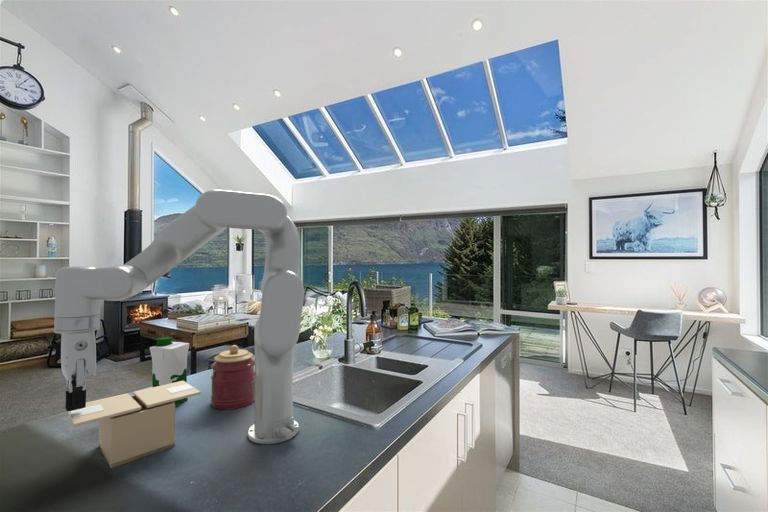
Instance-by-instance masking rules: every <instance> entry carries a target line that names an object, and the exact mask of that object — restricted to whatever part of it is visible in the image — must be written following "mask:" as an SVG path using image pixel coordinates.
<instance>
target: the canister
mask: <svg viewBox="0 0 768 512" xmlns="http://www.w3.org/2000/svg"><path fill="white" fill-rule="evenodd" d="M253 357H254V354H253V353H252V352H250V351H249V350H247V349H242V348H241V349H240V348H239V345H236V344H233V345H231V346H230V347H229V350H224V351H221V352H219V354H218V355H216V356H214V358H213V360H214V362H213V363H212V364H211V365H210V368H211V370H212V374H211V377H210V379H211V393H210V394H211V396H210V402H211V407H213V408H214V409H219V410H233V409H234V410H235V409H239V408H243V407H244V408H245V406H248V405H251V404H252V403H253V402H255V358H253Z"/></svg>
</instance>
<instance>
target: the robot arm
mask: <svg viewBox="0 0 768 512" xmlns="http://www.w3.org/2000/svg"><path fill="white" fill-rule="evenodd" d="M226 229H240V230H253V231H257V232H260V233H262V235H263V236H264V238H265V241H266V247H265V248H266V250H265V261H264V262H265V263H264V270H263V274H262V275H263V276H262V281H261V283H260V292H261V294H262V295H261V302H260V304H261V305H260V309H259V310H260V312H259V316H258V318H257V319H256V321H255V325H254V330H253V332H254V334H253V336H254V338H253V339H254V360H255V365H254V370H255V400H254V413H253V415H254V420H253V421H254V423H253V424H252V425H251V426H250V427H249V428H248V430H247V438H248V439H249V440H250V441H251V442H253V443H256V444H261V445H272V444H273V445H274V444H279V443H282V442H286V441H288V440H291V439H292V438H294V437H295V436H296V435H297V434H298V432H299V431H300V430H299V428H300V427H299V426H300V425H299V423H298V421H296V420H295V417H294V416H293V415H294V414H293V413H294V348H295V347H296V344H297V343H298V340H299V338H300V337H299V336H300V330H301V323H302V315H303V308H304V307H303V306H304V300H305V299H304V297H305V288H304V284H303V280H302V278H301V277H300V276H299V267H300V256H301V238H300V233H299V231H298V228H297V226H296V224H295V223H294V222H293V220H292V218H291V217H290V216H289V215H288V210H287V207H286V205H285V203H284V202H283V201H282V199H280V198H278V197H277V196H274V195H271V194H266V193H256V192H255V193H254V192H244V191H233V190H225V189H224V190H223V189H212V190H211V189H210V190H208V191H205V192H203V193H201V194H200V195H199V197H198V198H197V200H196V202H195V204H194V205H193V206H192V207H190V208H189V209H188V210H186V211H185V212H183V213H182V214H181V215H179V216H177V217H176V218H175V219H174V220H172V221H171V222H168V224H166V225H164V227H162V228H161V229H160V230H159V231H158V232H157V234H156V235H155V238H154V239H153V241H152V242H151V243H150V244H149V245H148V246H147V247H145V249H143V250H142V251H141V252H140V253H138V254H137V255H136V256H134V257H133V258H131V259H130V260H128V261H127V262H126V263H124V264H123V265H116V266H109V267H100V268H99V267H98V268H97V267H95V266H63V267H60V268H58V270H57V271H56V272H55V284H54V291H55V293H54V295H55V296H54V321H53V322H54V327H53V328H54V329H53V330H54V332H53V333H54V334H57V335H58V334H60V335H61V338H60V339H61V340H60V366H61V372H62V373H61V374H62V375H63V376H64V378H65V380H66V391H65V405H64V406H65V411H66V410H67V411H73V410H77V409H82V408H85V407H86V402H87V387H86V386H87V374H88V375H89V377H90V376H91V378H94V377H95V376H97V345H96V341H97V340H96V334H95V331H97V330H100V329H101V327H100V326H101V325H100V322H101V320H100V317H101V300H102V301H110V302H112V301H114V302H115V301H116V302H117V301H118V302H119V301H120V302H121V301H123V300H127V299H129V298H131V297H134V296H136V295H138V294H140V293H142V292H143V291H144V290H146V289H147V288H148V287H150V286H151V285H152V284H153V283H155V282H156V281H158V280H159V279H161V278H162V277H163V276H164V275H166V274H167V273H169V272H170V271H171V270H172V269H173V268H175V267H176V266H177V265H179V264H180V263H182V262H184V261H185V260H186V259H188V258H189V257H190V256H191V255H193V254H194V253H195V252H197V251H198V250H199V249H200V248H201V247H204V245H207V243H209V242H210V241H211V240H212V239H214V238H215V237H217V236H218V235H220V234H221V233H222V232H223V231H225V230H226ZM67 411H66V412H67Z"/></svg>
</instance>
